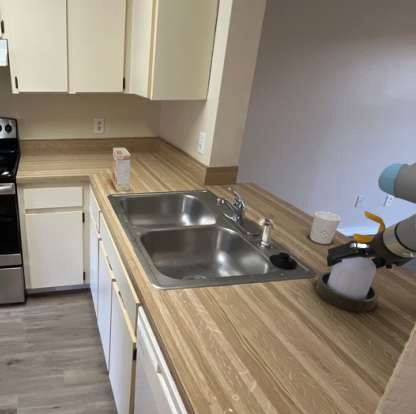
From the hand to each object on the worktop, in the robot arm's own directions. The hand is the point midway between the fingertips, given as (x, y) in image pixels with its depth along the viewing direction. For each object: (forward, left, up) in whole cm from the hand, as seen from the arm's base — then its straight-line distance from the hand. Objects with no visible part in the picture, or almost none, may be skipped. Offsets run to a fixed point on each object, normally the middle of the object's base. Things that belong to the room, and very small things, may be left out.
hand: (348, 263), depth 93 cm
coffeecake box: (+90, -58, -9) cm, 107 cm away
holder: (-1, +3, -9) cm, 9 cm away
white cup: (0, -32, -9) cm, 33 cm away
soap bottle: (-1, +3, -8) cm, 9 cm away
